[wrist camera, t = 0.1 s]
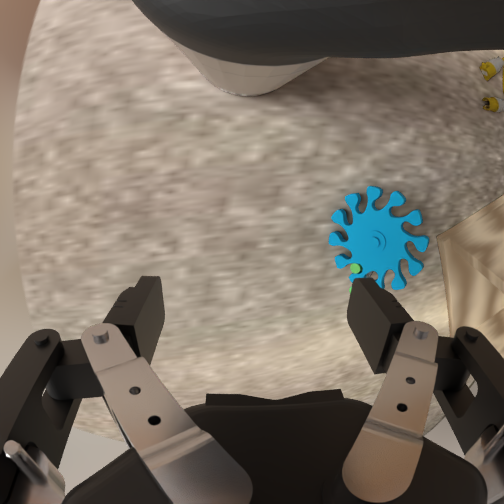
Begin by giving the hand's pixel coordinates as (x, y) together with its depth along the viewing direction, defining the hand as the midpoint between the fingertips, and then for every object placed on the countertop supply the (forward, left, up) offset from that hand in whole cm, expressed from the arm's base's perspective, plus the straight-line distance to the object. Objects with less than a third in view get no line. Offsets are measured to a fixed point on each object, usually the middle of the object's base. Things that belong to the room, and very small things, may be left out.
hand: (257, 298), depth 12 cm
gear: (+4, +12, -18) cm, 22 cm away
